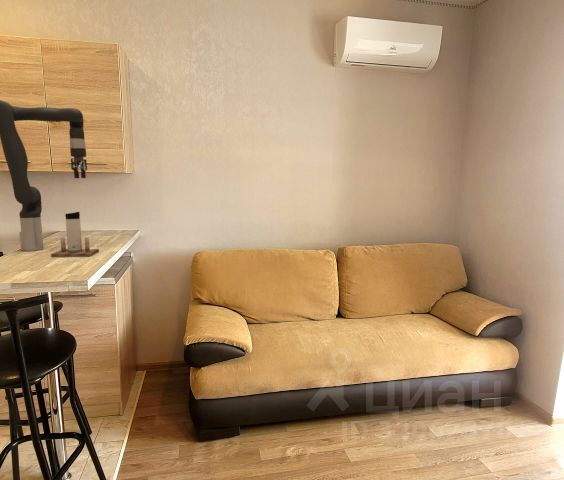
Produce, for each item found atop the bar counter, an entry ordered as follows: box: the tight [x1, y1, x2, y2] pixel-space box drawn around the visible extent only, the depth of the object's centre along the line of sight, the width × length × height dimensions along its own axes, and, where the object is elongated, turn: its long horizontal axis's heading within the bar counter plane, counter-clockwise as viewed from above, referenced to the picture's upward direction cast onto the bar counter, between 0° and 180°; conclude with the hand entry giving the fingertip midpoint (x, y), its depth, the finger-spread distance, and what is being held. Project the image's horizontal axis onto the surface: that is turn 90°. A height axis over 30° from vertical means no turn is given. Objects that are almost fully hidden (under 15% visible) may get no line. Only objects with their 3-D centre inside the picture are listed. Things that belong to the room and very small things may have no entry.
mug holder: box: [50, 236, 100, 258], centre depth 188 cm, size 18×12×8 cm, turn 97°
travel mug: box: [64, 211, 83, 253], centre depth 186 cm, size 6×7×20 cm
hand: (80, 178), depth 204 cm, fingers open, 8 cm apart
